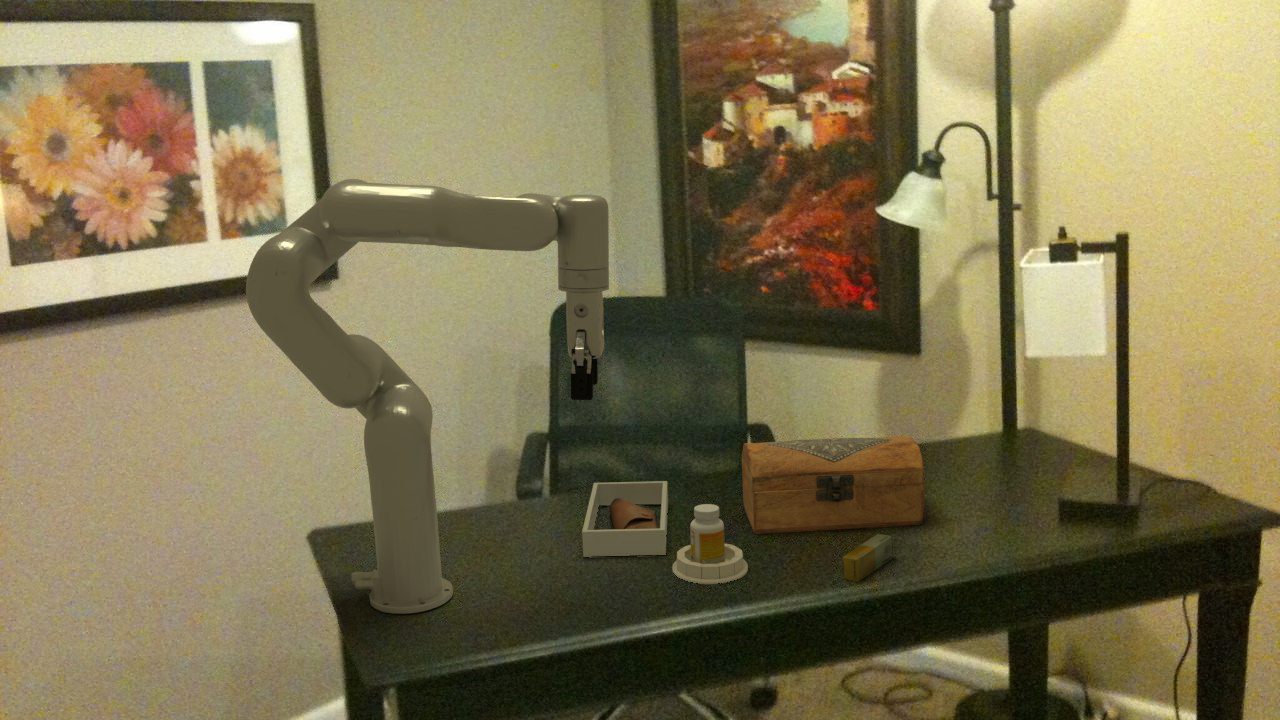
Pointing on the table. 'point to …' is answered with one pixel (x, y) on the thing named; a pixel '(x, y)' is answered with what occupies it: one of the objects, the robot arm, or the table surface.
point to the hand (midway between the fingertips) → (584, 391)
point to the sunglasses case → (631, 516)
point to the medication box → (867, 557)
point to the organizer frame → (625, 539)
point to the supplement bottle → (707, 535)
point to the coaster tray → (710, 567)
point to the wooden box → (832, 484)
